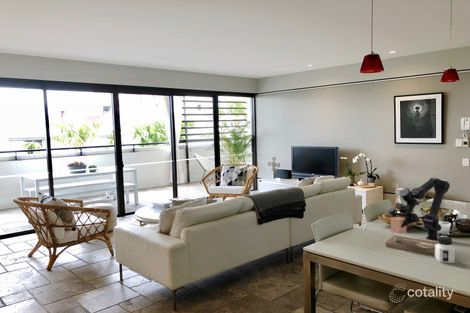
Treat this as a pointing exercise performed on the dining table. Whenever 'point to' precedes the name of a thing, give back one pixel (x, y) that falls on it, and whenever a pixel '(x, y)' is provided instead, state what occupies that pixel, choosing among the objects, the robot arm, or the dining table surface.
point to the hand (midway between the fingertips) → (396, 226)
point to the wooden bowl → (388, 217)
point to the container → (445, 250)
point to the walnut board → (412, 244)
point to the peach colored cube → (397, 225)
